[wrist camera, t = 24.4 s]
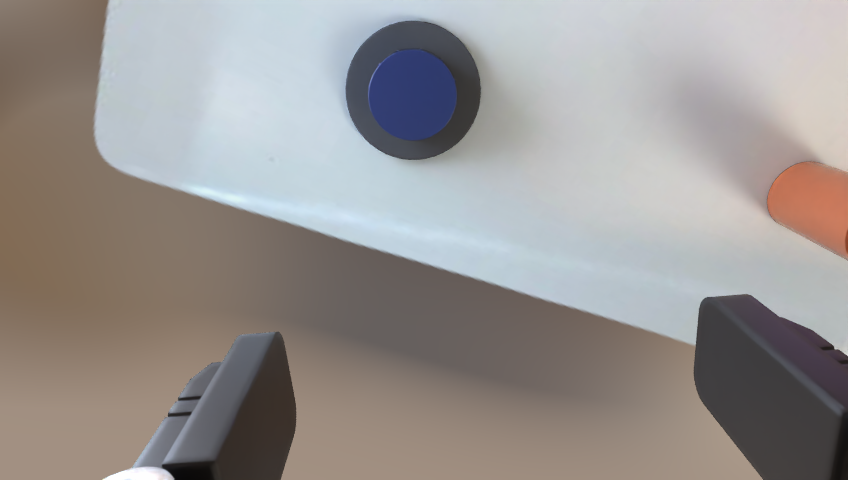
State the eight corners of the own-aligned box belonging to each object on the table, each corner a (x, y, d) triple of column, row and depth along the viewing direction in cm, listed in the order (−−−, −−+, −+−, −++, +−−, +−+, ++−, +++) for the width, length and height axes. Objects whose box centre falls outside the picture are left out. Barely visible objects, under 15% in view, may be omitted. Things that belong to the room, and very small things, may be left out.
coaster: (442, 179, 40) (443, 181, 40) (325, 123, 39) (324, 124, 38) (503, 60, 38) (505, 60, 37) (380, -5, 36) (379, -6, 36)
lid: (392, 33, 36) (391, 33, 35) (469, 73, 37) (472, 75, 36) (356, 113, 38) (353, 117, 36) (431, 149, 39) (432, 155, 37)
